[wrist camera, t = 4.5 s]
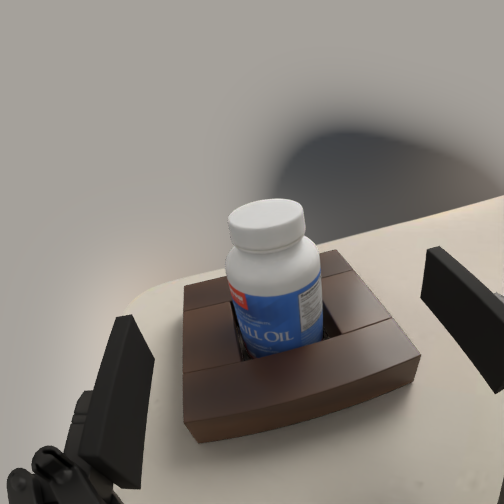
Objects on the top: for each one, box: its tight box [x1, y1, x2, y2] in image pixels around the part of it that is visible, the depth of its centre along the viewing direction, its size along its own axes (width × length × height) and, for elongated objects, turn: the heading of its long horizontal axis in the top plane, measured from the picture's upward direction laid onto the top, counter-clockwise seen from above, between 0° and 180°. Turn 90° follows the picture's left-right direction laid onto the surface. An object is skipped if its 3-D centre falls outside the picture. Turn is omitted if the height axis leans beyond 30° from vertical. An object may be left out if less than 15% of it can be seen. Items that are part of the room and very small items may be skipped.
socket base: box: [183, 250, 421, 443], centre depth 21 cm, size 13×13×2 cm
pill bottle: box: [225, 199, 323, 359], centre depth 19 cm, size 6×5×10 cm
